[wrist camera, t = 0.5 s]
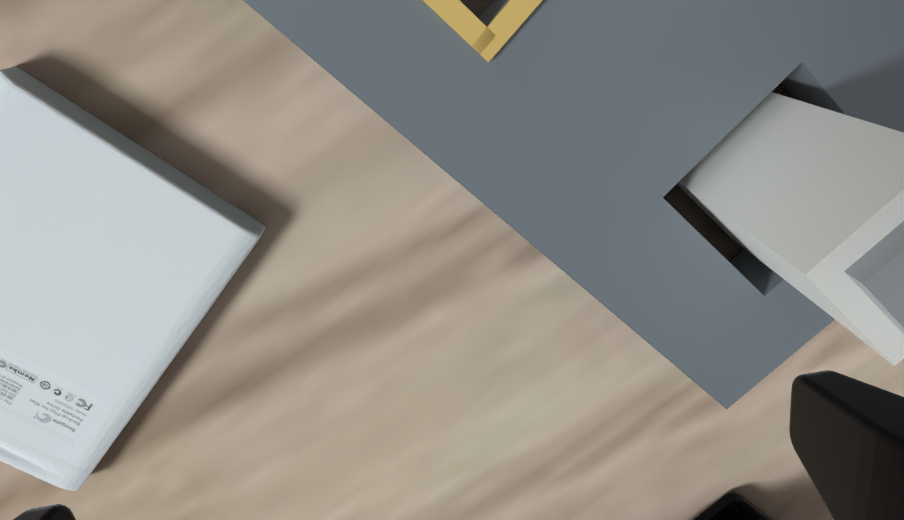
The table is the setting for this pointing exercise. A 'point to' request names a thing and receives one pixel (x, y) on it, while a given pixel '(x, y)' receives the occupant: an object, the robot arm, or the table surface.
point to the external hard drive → (94, 277)
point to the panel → (616, 135)
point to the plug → (816, 209)
